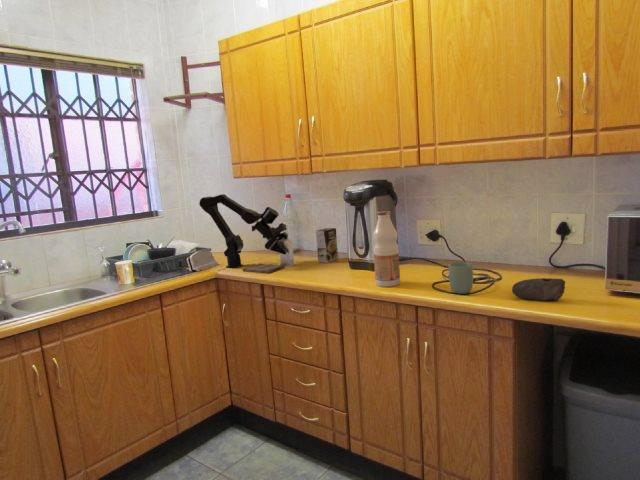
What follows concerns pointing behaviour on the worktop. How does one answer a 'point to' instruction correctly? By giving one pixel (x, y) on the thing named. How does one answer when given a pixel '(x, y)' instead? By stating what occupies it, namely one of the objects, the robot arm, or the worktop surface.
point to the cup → (461, 277)
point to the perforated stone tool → (539, 289)
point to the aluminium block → (287, 252)
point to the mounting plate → (263, 268)
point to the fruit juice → (386, 252)
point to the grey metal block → (201, 260)
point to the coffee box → (327, 245)
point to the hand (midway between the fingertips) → (289, 252)
